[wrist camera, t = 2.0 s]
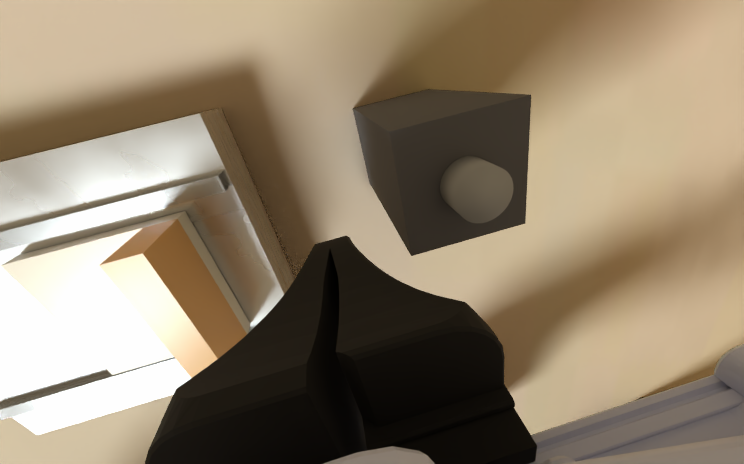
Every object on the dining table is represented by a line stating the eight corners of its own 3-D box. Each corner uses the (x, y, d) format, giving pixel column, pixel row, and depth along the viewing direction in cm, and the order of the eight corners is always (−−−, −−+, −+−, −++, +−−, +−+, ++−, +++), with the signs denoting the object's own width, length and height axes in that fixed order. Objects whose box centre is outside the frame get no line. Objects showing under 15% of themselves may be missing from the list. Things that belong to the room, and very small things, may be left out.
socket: (311, 317, 18) (311, 359, 15) (74, 387, 17) (30, 443, 14) (221, 107, 12) (195, 114, 9) (-146, 197, 11) (-288, 233, 8)
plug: (436, 164, 15) (549, 239, 8) (369, 182, 15) (423, 276, 8) (428, 89, 13) (562, 96, 6) (352, 108, 13) (400, 138, 6)
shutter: (250, 324, 14) (235, 383, 11) (121, 361, 13) (73, 432, 11) (185, 210, 11) (142, 253, 8) (18, 255, 11) (-84, 314, 8)
